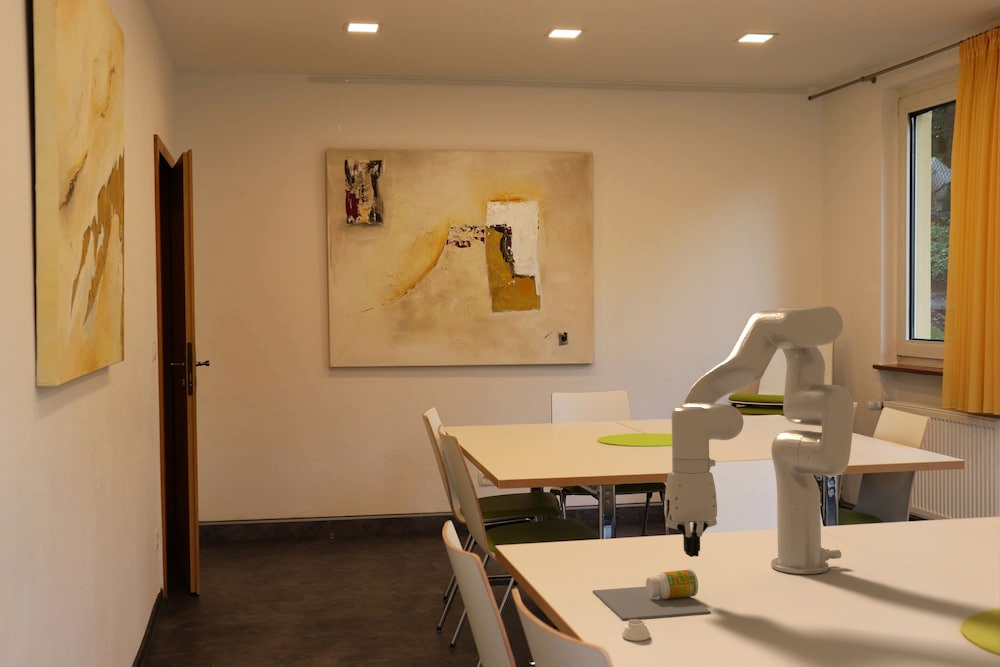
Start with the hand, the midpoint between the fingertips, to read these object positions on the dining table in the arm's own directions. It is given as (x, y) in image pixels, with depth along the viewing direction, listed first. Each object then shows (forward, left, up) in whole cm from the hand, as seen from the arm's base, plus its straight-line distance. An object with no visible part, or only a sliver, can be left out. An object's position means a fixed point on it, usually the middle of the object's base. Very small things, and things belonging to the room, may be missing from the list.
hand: (691, 555), depth 197 cm
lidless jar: (+19, +21, -9) cm, 30 cm away
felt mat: (+10, +1, -9) cm, 13 cm away
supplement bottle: (0, 0, -6) cm, 6 cm away
